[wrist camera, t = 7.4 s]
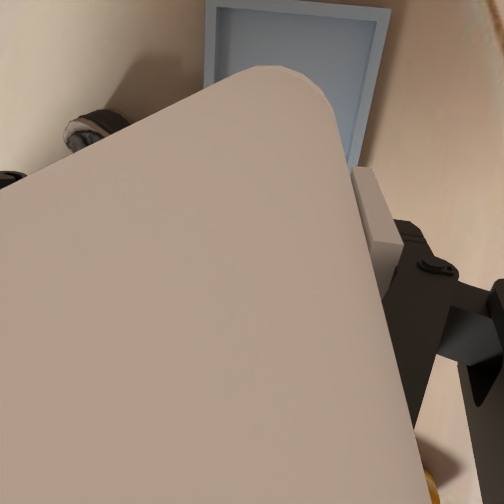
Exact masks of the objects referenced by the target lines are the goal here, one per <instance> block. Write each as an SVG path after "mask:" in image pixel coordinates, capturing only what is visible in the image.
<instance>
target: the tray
mask: <svg viewBox="0 0 504 504" xmlns="http://www.w3.org/2000/svg"><path fill="white" fill-rule="evenodd" d="M391 12H392V9H388V8H377V7H366V6H355V5H344V4H333V3H322V2H311V1H300V0H205V42H204V86H203V89H205V88H207V87H209V86H211V85H213V84H215V83H217V82H219V81H221V80H223V79H225V78H227V77H230V76H231V75H233V74H235V73H238V72H240V71H243V70H246V69H249V68H252V67H254V66H257V65H260V66H283V67H286V68H289V69H291V70H294V71H297V72H300V73H302V74H304V75H305V76H306V77H307V78H309V79H310V80H311V81H312V82H313V83H315V84H316V85H317V86H318V87H319V88H321V90H322V91H323V93H324V95H325V96H326V98H327V100H328V101H329V103H330V105H331V106H332V108H333V111H334V115H335V118H336V122H337V126H338V130H339V134H340V138H341V142H342V146H343V150H344V154H345V158H346V162H347V166H348V170H349V174H350V173H351V169H352V166H358V161H359V157H360V152H361V148H362V143H363V139H364V134H365V130H366V125H367V120H368V116H369V111H370V107H371V102H372V98H373V93H374V89H375V84H376V80H377V75H378V71H379V66H380V62H381V57H382V53H383V48H384V43H385V39H386V34H387V30H388V25H389V21H390V16H391Z"/></svg>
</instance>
